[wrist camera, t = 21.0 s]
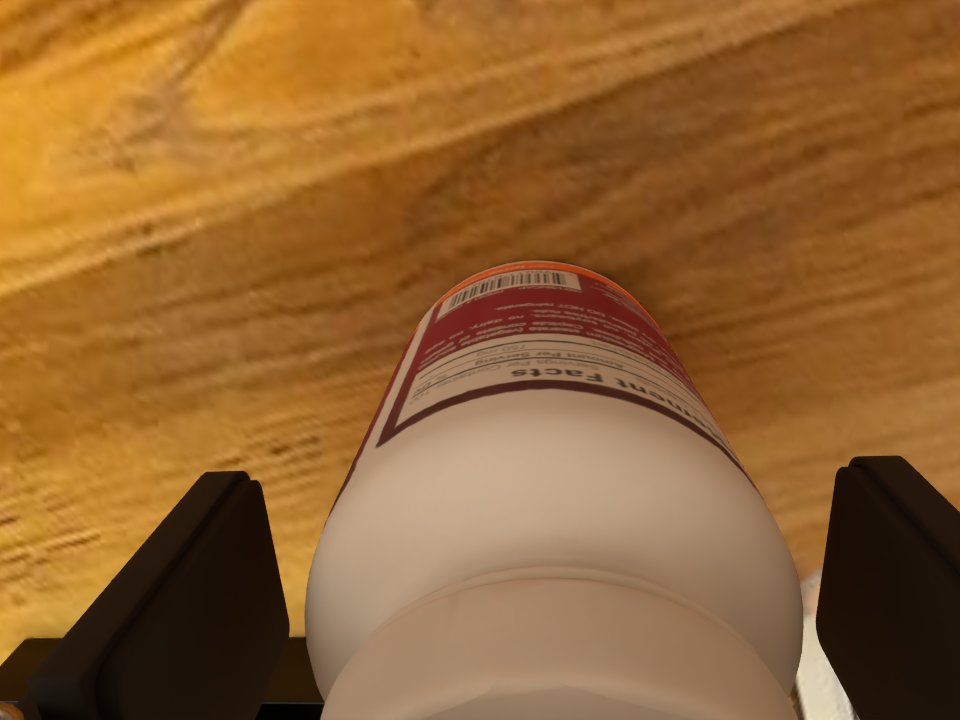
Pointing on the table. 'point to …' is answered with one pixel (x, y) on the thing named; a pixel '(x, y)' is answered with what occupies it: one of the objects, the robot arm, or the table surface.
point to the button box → (282, 714)
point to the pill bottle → (549, 527)
